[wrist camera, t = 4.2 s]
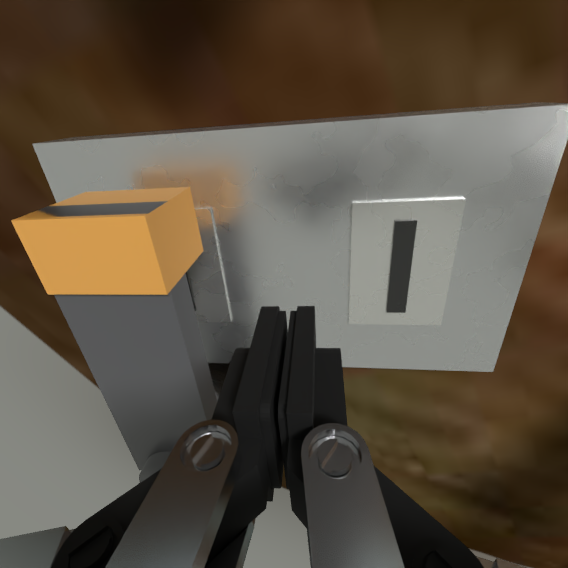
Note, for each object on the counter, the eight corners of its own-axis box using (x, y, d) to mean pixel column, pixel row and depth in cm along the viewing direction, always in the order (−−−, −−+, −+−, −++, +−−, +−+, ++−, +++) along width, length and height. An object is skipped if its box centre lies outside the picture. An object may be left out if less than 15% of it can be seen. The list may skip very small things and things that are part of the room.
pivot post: (236, 353, 25) (210, 421, 20) (240, 376, 26) (217, 446, 21) (206, 352, 26) (173, 419, 20) (211, 375, 27) (182, 444, 21)
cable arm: (243, 439, 22) (224, 510, 18) (174, 434, 23) (142, 502, 19) (190, 186, 14) (136, 220, 10) (85, 191, 15) (-2, 225, 11)
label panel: (536, 102, 15) (584, 103, 12) (473, 339, 22) (495, 375, 19) (73, 137, 19) (27, 144, 16) (143, 333, 25) (119, 363, 23)
